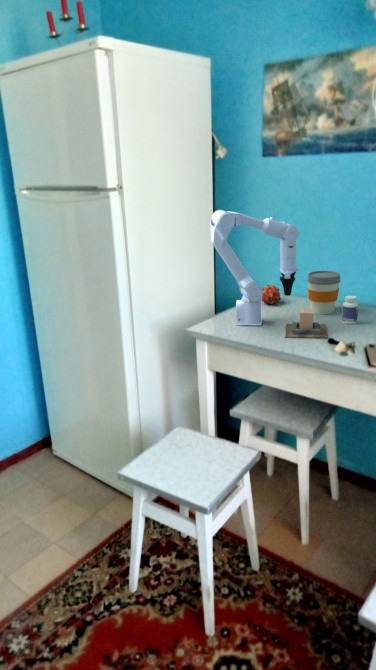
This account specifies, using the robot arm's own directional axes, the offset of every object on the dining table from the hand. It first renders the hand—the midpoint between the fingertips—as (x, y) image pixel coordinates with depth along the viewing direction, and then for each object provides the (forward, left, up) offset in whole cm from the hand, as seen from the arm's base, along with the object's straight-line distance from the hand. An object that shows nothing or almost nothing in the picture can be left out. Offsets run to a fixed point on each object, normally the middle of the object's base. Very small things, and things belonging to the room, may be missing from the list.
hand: (287, 292), depth 184 cm
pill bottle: (+23, -4, -11) cm, 25 cm away
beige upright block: (+7, -15, -10) cm, 19 cm away
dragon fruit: (-7, +20, -11) cm, 24 cm away
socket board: (+7, -15, -10) cm, 19 cm away
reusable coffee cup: (+14, +10, -11) cm, 20 cm away
